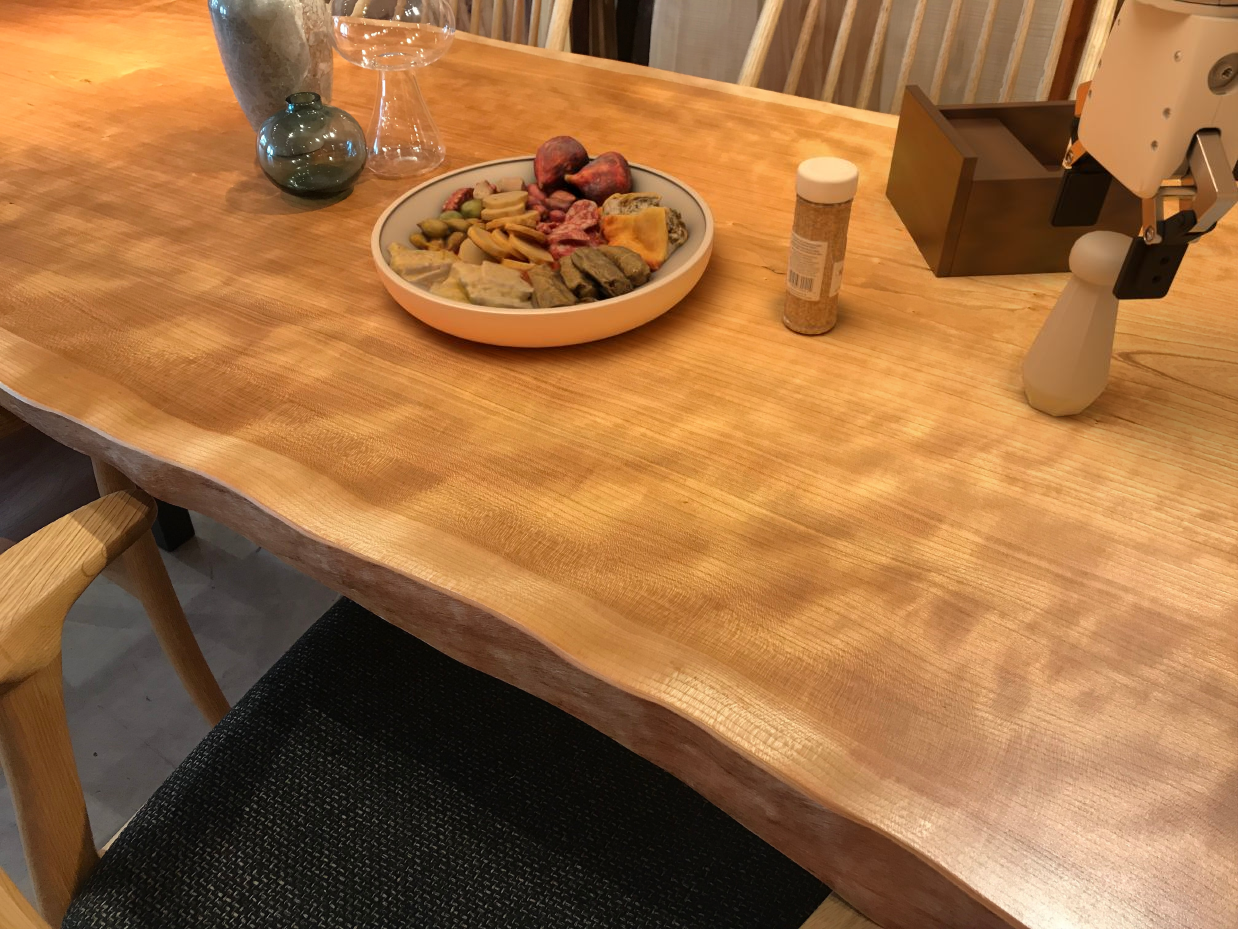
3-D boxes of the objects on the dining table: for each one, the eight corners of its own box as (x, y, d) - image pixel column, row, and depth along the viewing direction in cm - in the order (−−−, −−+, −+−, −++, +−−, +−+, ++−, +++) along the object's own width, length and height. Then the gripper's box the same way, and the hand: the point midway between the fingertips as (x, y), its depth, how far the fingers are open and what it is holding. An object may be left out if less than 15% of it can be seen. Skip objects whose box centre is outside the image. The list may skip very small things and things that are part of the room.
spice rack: (1049, 187, 95) (1082, 78, 87) (1125, 269, 82) (1172, 149, 75) (885, 193, 94) (905, 84, 87) (935, 277, 81) (964, 157, 74)
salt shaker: (1102, 391, 68) (1168, 232, 60) (1089, 433, 65) (1156, 270, 56) (1022, 369, 71) (1074, 213, 62) (1004, 408, 67) (1057, 248, 58)
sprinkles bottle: (846, 327, 76) (872, 171, 67) (800, 342, 74) (821, 184, 65) (814, 302, 79) (835, 149, 70) (769, 315, 77) (785, 161, 68)
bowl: (714, 371, 71) (719, 282, 66) (339, 363, 73) (316, 276, 68) (709, 201, 94) (713, 125, 89) (423, 198, 96) (410, 124, 90)
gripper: (1390, 13, 42) (1230, 328, 53) (1196, -67, 55) (1100, 200, 66) (1232, 16, 42) (1104, 332, 53) (1074, -65, 55) (998, 202, 66)
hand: (1102, 258), depth 60 cm, fingers open, 9 cm apart
